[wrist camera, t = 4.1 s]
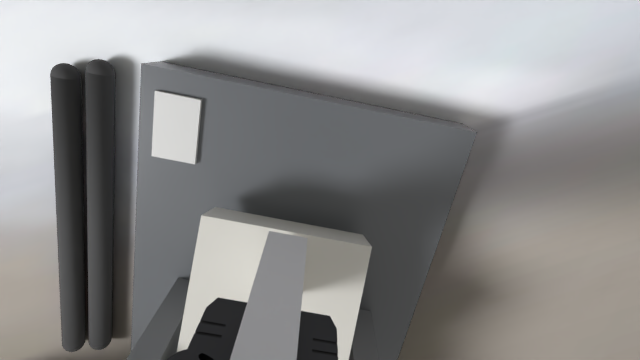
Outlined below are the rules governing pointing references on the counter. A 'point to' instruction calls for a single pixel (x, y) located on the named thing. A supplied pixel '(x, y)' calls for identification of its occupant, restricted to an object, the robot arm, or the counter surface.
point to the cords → (71, 199)
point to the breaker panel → (286, 190)
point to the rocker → (243, 260)
